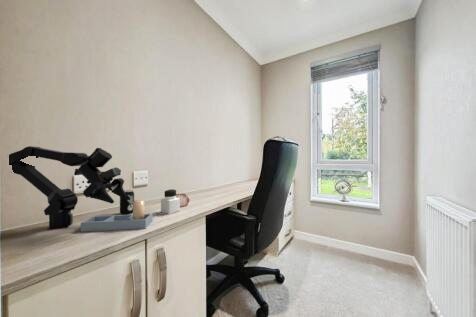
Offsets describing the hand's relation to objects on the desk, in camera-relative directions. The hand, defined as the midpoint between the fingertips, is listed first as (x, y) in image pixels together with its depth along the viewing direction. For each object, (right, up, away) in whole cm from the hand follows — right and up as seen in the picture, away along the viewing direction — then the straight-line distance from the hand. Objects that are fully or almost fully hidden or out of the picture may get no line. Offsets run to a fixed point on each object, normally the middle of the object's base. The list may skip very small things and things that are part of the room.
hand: (120, 200), depth 81 cm
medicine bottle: (+14, -11, +21) cm, 28 cm away
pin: (+8, -10, 0) cm, 13 cm away
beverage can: (-8, -11, +19) cm, 24 cm away
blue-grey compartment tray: (0, -11, -1) cm, 11 cm away
